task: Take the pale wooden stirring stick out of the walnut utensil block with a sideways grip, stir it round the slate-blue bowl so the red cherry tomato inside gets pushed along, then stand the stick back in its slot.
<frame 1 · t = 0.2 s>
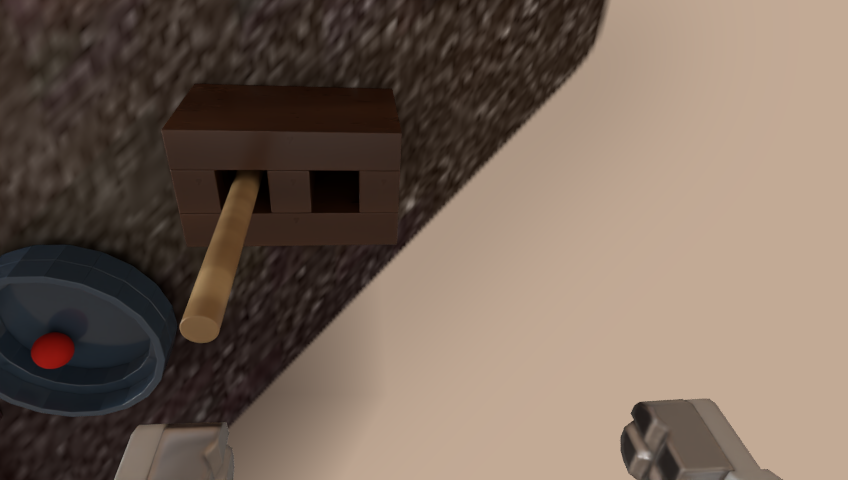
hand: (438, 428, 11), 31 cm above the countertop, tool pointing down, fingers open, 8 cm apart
bowl: (84, 310, 46), on the countertop
cherry tomato: (53, 350, 45), point 2 cm above the countertop, touching bowl
stirring stick: (261, 139, 39), resting in utensil block
utensil block: (299, 139, 40), on the countertop
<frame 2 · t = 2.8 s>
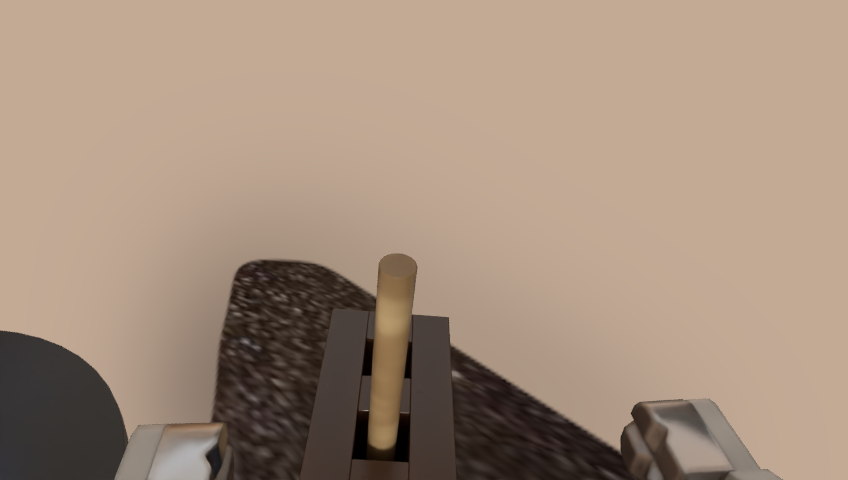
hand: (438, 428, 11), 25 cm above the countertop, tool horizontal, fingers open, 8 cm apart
utensil block: (378, 468, 36), on the countertop
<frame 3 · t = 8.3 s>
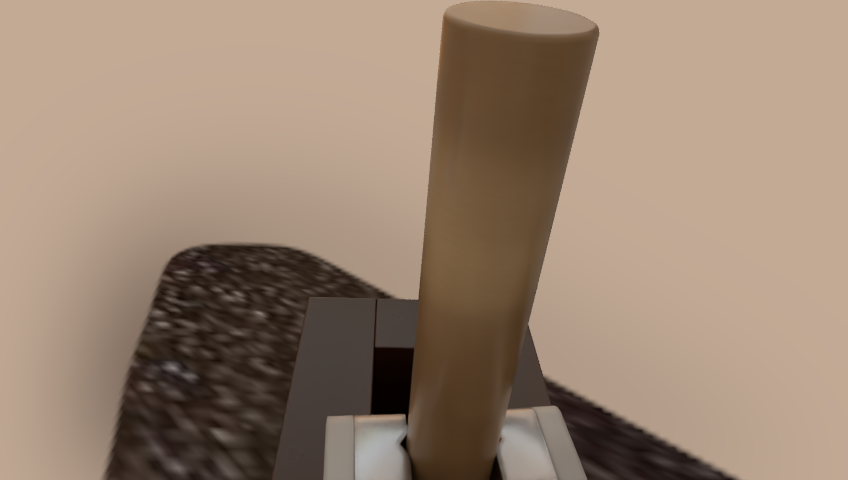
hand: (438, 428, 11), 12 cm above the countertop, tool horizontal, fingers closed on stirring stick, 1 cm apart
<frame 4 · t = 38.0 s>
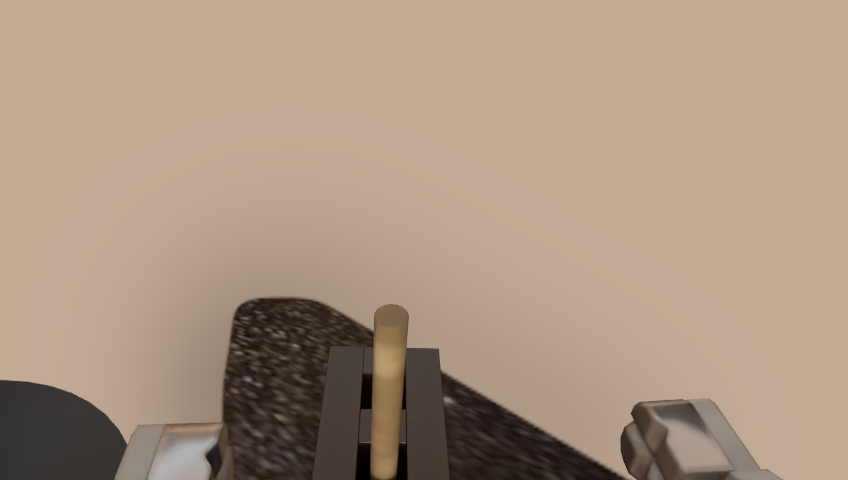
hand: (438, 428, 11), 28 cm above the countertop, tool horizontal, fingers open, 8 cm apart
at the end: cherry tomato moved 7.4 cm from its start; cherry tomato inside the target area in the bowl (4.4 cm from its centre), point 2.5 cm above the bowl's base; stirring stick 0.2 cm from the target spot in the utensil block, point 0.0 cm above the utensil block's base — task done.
